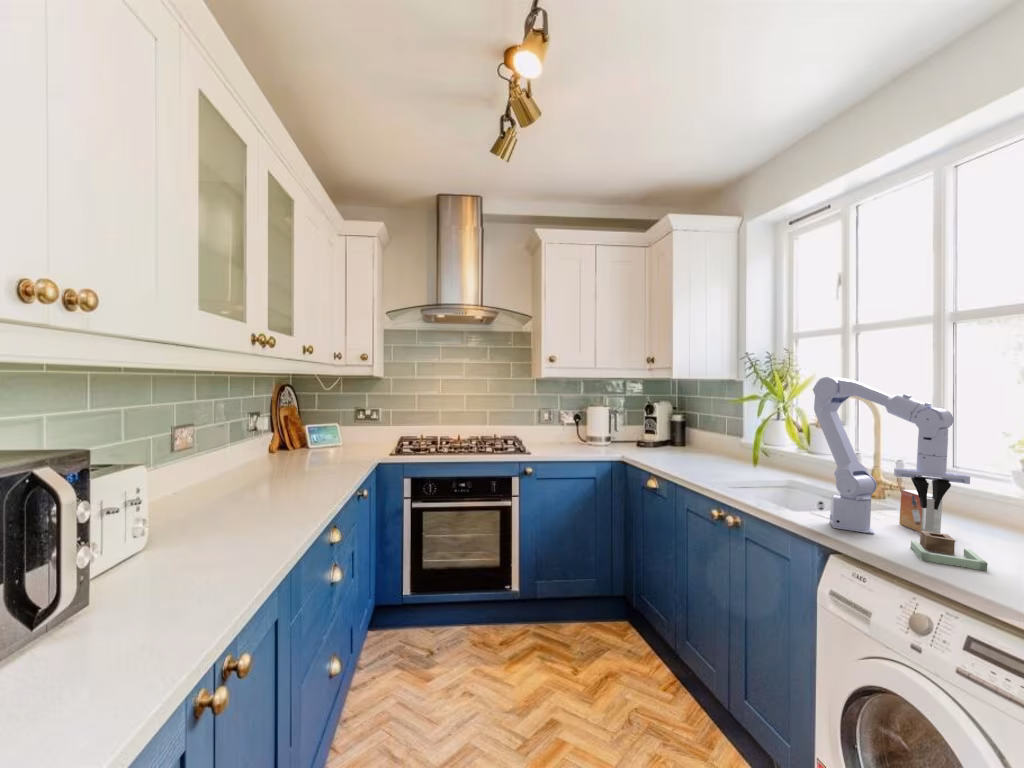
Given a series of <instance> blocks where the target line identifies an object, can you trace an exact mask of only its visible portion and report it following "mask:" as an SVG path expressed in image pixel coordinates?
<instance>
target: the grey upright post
mask: <svg viewBox="0 0 1024 768" xmlns="http://www.w3.org/2000/svg"><path fill="white" fill-rule="evenodd" d="M934 505H935V499H933V498H927V508H924V521H923V528H924V529H925V530H930V531H933V525H934Z"/></svg>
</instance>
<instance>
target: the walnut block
mask: <svg viewBox="0 0 1024 768" xmlns="http://www.w3.org/2000/svg"><path fill="white" fill-rule="evenodd" d="M919 535H920V536H919V544H920V545H921V546H922V547H923V548H924V549H925V550H926V551H930V552H935V553H943V554H950V555H955V543H956V540H955V539H954V538H953V537H952V536H951V535H949V534H947V533H941V532H940V533H934V532H927V531H921V532H919Z"/></svg>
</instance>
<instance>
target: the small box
mask: <svg viewBox="0 0 1024 768" xmlns="http://www.w3.org/2000/svg"><path fill="white" fill-rule="evenodd" d="M900 490H901V491H900V493H901V494H900V510H899V522H898V523H899V525H902V526H905V527H906V528H909V529H912V530H913V531H916V532H918V533H920V532H921V531H927V532H934V533H941V528H942V527H941V526H942V511H943V499H942V500H941V502H940V504H939V507H938V510H935V509H934V525H933V531H930V530H925V529H924V528H923V521H924V508H922V507H921V504H920V499H919V495H918V492H917V490H914V489H912V490H911V489H900ZM932 496H933V493H929V492H927V498H932Z"/></svg>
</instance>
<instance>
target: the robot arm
mask: <svg viewBox="0 0 1024 768" xmlns="http://www.w3.org/2000/svg"><path fill="white" fill-rule="evenodd" d="M812 391H813V394H814V401H813V402H814V403H813V410H814V413H815V416H816V418H817V421H818V423H819V426H820V428H821V430H822V433H823V435H824V437H825V440H826V442H827V445H828V448H829V450H830V452H831V455H832V457H833V460H834V462H835V464H836V469H835V471H834V473H833V475H834V476H835V486H836V490H837V491H838V493H839V495H837V494H833V495H831V500H830V513H829V522H830V525H831V526H832V528H834V529H838V530H846V531H851V532H852V531H853V532H859V533H864V534H872V535H873V534H875V532H874V530H873V529H872V528H871V517H872V515H871V514H872V513H871V512H872V494H874V493H875V492H876V491H877V487H878V483H877V481H876V479H875V478H874V477H873V476H872V475H871V474H870V473H869V471H868V468H867V467H866V466H864V465H863V464H862V463H860V461H859V460H858V457H857V455H856V453H855V450H854V448H853V446H852V443H851V441H850V439H849V437H848V434H847V432H846V430H845V427H844V424H843V423H842V420H841V418H840V416H839V414H838V410H839V408H840V407H841V405H842V404H843V403H845V402H846V401H847V400H848V399H849V398H851V397H859V398H861V399H864V400H866V401H869V402H871V403H872V402H873V403H875V404H878V405H881V406H883V407H885V409H886V412H887V413H888V414H891V415H893V416H895V417H898V418H900V419H902V420H905V421H907V422H909V423H911V424H915V426H916V427H917V428H918V434H917V435H918V436H917V450H916V451H917V453H916V454H917V455H916V467H915V469H911V468H900V467H898V468H896V467H894V469H893V476H895V477H896V478H897V477H898V478H902V477H903V478H910V479H911V482H912V483H913V485H914V487H915V489H916V490H917V492H918V495H919V499H920V504H921V507H922V508H927V493H928V492H929V485H930V483H929V482H928V481H929V480H931V485H932V486H931V487H932V495H933V496H932V498H933V499H935V505H934V509H935V510H938V507H939V504H940V502H941V500H942V501H943V498H944V496H945V494H946V493H947V492H948V491H949V489H950V488H951V487H952V483H959V484H964V485H970V484H971V476H970V475H969V474H959V473H951V472H947V467H948V466H947V465H948V463H947V462H948V449H949V448H948V446H949V428H951V426H952V425H953V424H954V416H953V414H952V413H951V412H950V411H949V410H947V409H946V408H944V407H939V406H937V407H932V403H930V402H922V401H919V400H918V399H914V398H912V395H911V394H907V393H903V394H900V393H899V394H895V395H890V394H888V393H886V392H884V391H882V390H878V389H876V388H874V387H872V386H870V385H867V384H864V383H862V382H860V381H857V380H853V379H850V378H848V377H831V376H824V377H820V378H819V379H818V380H817V381H816V383H815V385H814V386H813V388H812ZM951 482H952V483H951Z"/></svg>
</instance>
